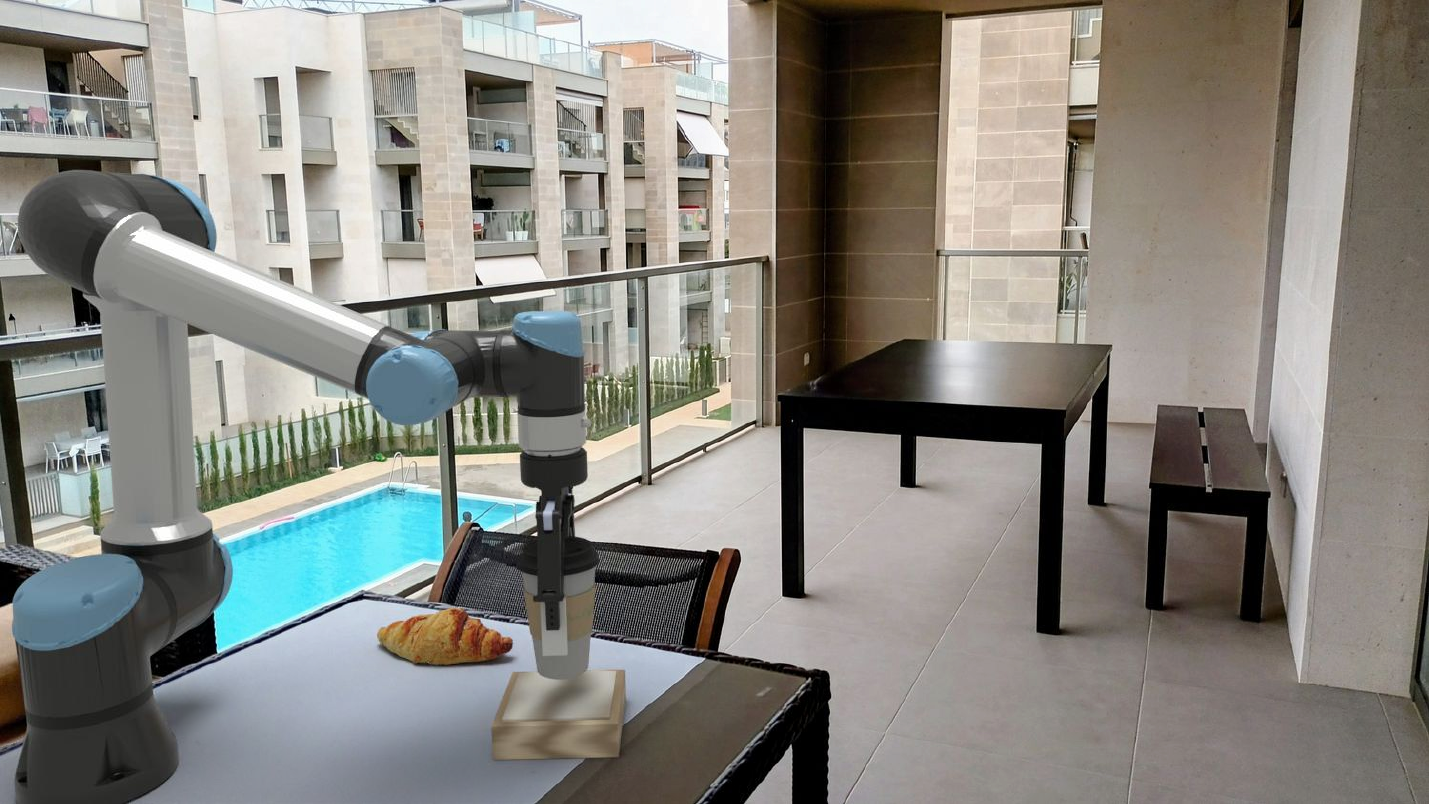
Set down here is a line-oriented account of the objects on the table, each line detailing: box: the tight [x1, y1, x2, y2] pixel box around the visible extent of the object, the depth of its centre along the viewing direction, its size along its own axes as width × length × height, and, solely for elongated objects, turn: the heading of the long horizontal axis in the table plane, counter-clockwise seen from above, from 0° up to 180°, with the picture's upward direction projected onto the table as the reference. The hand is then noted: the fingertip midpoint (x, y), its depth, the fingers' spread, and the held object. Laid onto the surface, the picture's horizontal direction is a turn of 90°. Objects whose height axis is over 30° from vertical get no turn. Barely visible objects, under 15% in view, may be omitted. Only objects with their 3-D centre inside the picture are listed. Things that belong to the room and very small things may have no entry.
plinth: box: [491, 669, 627, 761], centre depth 119 cm, size 14×14×4 cm
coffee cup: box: [516, 536, 600, 680], centre depth 117 cm, size 9×9×15 cm
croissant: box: [376, 607, 514, 666], centre depth 141 cm, size 21×10×8 cm, turn 75°
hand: (560, 636), depth 118 cm, fingers closed on coffee cup, 9 cm apart
